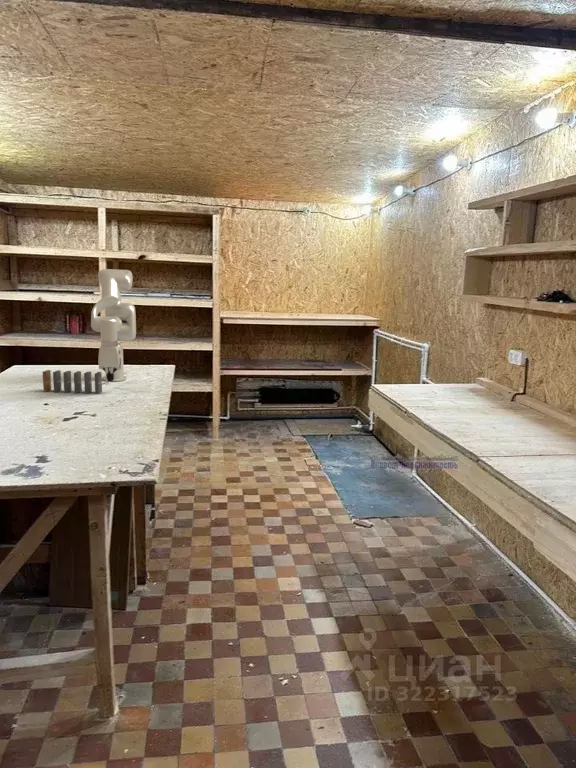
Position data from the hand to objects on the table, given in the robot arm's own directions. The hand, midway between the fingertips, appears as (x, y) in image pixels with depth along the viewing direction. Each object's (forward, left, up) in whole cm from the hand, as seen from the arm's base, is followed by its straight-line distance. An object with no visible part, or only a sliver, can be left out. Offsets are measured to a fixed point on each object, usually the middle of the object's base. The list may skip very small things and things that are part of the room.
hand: (110, 381), depth 250 cm
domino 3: (0, -21, -6) cm, 22 cm away
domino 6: (0, -6, -6) cm, 8 cm away
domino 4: (0, -16, -6) cm, 17 cm away
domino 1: (0, -31, -6) cm, 31 cm away
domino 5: (0, -11, -6) cm, 12 cm away
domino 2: (0, -26, -6) cm, 27 cm away
